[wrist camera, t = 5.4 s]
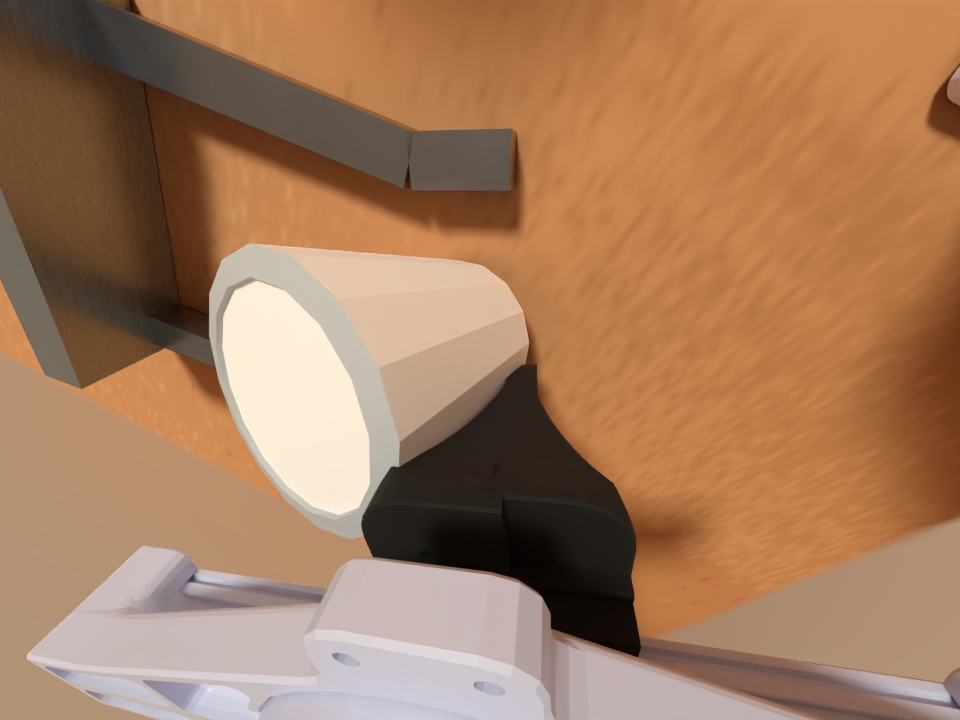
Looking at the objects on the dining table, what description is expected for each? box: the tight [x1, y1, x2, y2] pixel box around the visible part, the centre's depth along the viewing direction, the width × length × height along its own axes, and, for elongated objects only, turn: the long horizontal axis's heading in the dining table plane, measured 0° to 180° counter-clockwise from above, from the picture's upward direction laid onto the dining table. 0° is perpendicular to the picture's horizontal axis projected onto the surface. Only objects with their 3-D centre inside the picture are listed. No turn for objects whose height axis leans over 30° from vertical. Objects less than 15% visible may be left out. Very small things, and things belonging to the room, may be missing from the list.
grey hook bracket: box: [0, 0, 516, 389], centre depth 12 cm, size 15×14×4 cm
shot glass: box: [209, 243, 529, 540], centre depth 10 cm, size 7×7×7 cm
